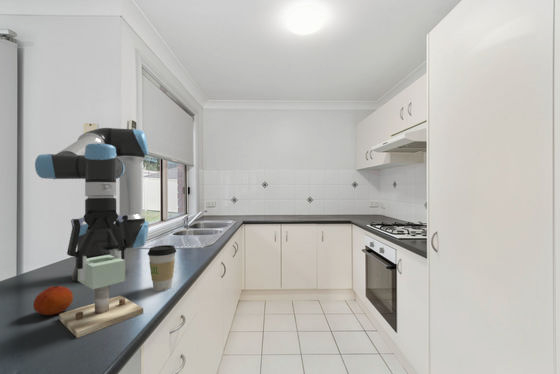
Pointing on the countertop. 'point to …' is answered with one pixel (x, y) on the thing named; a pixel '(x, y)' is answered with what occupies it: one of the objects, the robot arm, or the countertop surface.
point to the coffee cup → (162, 266)
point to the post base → (99, 313)
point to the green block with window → (104, 271)
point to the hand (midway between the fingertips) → (101, 275)
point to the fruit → (53, 300)
